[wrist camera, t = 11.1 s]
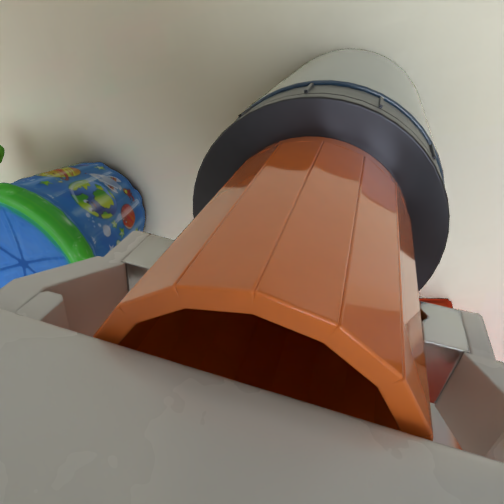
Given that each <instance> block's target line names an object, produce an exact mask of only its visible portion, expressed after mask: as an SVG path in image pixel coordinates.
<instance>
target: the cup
mask: <svg viewBox="0 0 504 504" xmlns="http://www.w3.org/2000/svg"><path fill="white" fill-rule="evenodd" d="M93 337H94V338H98V339H101V340H104V341H107V342H111V343H114V344H117V345H120V346H124V347H127V348H130V349H134V350H137V351H140V352H143V353H147V354H150V355H153V356H156V357H160V358H163V359H166V360H169V361H173V362H176V363H179V364H182V365H186V366H189V367H192V368H196V369H199V370H202V371H205V372H209V373H212V374H215V375H219V376H222V377H225V378H228V379H232V380H235V381H238V382H242V383H245V384H248V385H251V386H255V387H258V388H261V389H265V390H268V391H271V392H274V393H278V394H281V395H284V396H288V397H291V398H294V399H297V400H301V401H304V402H307V403H310V404H314V405H317V406H320V407H323V408H327V409H330V410H333V411H336V412H340V413H343V414H346V415H349V416H353V417H356V418H359V419H362V420H366V421H369V422H372V423H375V424H379V425H382V426H385V427H388V428H392V429H395V430H398V431H402V432H405V433H408V434H411V435H415V436H418V437H421V438H424V439H428V440H431V441H433V437H434V436H433V426H432V417H431V408H430V398H429V389H428V379H427V370H426V360H425V351H424V341H423V332H422V322H421V313H420V303H419V294H418V284H417V275H416V265H415V256H414V247H413V237H412V228H411V220H410V217H409V214H408V210H407V205H406V202H405V199H404V196H403V194H402V192H401V190H400V188H399V186H398V184H397V182H396V181H395V179H394V178H393V177H392V175H391V174H390V172H389V171H388V170H387V169H386V168H385V167H384V166H383V165H382V164H381V163H380V162H379V161H377V160H376V159H375V158H374V157H372V156H371V155H370V154H368V153H366V152H365V151H363V150H361V149H360V148H358V147H356V146H353V145H351V144H349V143H346V142H343V141H339V140H336V139H332V138H325V137H312V136H305V137H296V138H290V139H286V140H283V141H279V142H277V143H274V144H272V145H269V146H267V147H266V148H264V149H262V150H260V151H259V152H257V153H256V154H255V155H253V156H252V157H251V158H250V159H248V160H247V161H245V162H244V163H243V165H242V166H241V167H240V168H239V169H238V170H237V171H236V172H235V173H234V175H233V176H232V177H231V178H230V179H229V180H228V181H227V182H226V184H225V185H224V186H223V187H222V188H221V189H220V190H219V191H218V192H217V194H216V195H215V196H214V197H213V198H212V199H211V200H210V201H209V203H208V204H207V205H206V206H205V207H204V208H203V209H202V210H201V211H200V213H199V214H198V215H197V216H196V217H195V218H194V219H193V220H192V222H191V223H190V224H189V225H188V226H187V227H186V228H185V229H184V231H183V232H182V233H181V234H180V235H179V236H178V237H177V238H176V239H175V241H174V242H173V243H172V244H171V245H170V246H169V247H168V248H167V250H166V251H165V252H164V253H163V254H162V255H161V256H160V257H159V258H158V260H157V261H156V262H155V263H154V264H153V265H152V266H151V267H150V269H149V270H148V271H147V272H146V273H145V274H144V275H143V276H142V278H141V279H140V280H139V281H138V282H137V283H136V284H135V285H134V286H133V288H132V289H131V290H130V291H129V292H128V293H127V294H126V295H125V297H124V298H123V299H122V300H121V301H120V302H119V303H118V304H117V306H116V307H115V308H114V309H113V311H112V312H111V313H110V315H109V316H108V317H107V318H106V320H105V321H104V322H103V324H102V325H101V326H100V327H99V329H98V330H97V331H96V333H95V334H94V335H93Z"/></svg>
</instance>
